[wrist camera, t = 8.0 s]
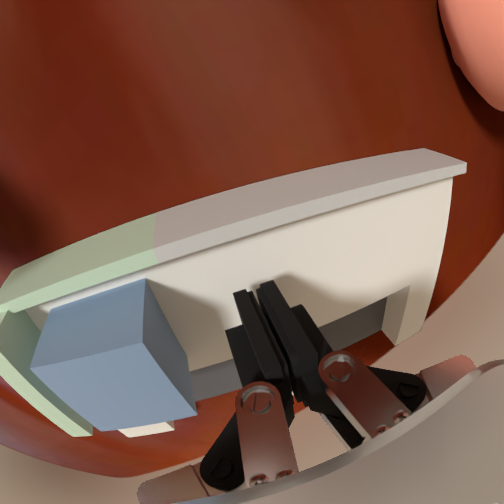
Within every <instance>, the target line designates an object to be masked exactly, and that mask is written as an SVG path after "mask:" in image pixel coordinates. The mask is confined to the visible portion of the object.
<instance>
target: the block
mask: <svg viewBox="0 0 504 504" xmlns="http://www.w3.org/2000/svg"><path fill="white" fill-rule="evenodd" d="M30 370H31V371H32V372H33V373H34V374H35V375H36V376H37V377H38V378H39V379H40V380H41V381H42V382H43V383H44V384H45V385H46V386H47V387H48V388H49V389H50V390H52V391H53V392H54V393H55V394H56V395H57V396H58V397H59V398H60V399H61V400H62V401H64V402H65V403H66V404H67V405H68V406H69V407H71V408H72V409H73V410H74V411H75V412H77V413H78V414H79V415H80V416H82V417H83V418H84V419H85V420H87V421H88V422H89V423H90V424H92V425H93V426H94V427H96V428H97V429H99V430H100V431H110V430H118V429H126V428H133V427H139V426H146V425H151V424H157V423H162V422H167V421H172V420H177V419H181V418H186V417H190V416H194V415H198V414H197V409H196V404H195V399H194V394H193V388H192V383H191V377H190V371H189V365H188V359H187V355H186V353H185V351H184V350H183V348H182V346H181V345H180V343H179V341H178V339H177V338H176V336H175V334H174V332H173V330H172V329H171V327H170V325H169V323H168V321H167V319H166V317H165V316H164V314H163V312H162V310H161V308H160V306H159V304H158V302H157V300H156V298H155V296H154V294H153V292H152V290H151V288H150V286H149V284H148V282H147V280H146V278H143V279H140V280H137V281H134V282H131V283H128V284H125V285H122V286H119V287H116V288H113V289H110V290H106V291H103V292H100V293H97V294H94V295H91V296H88V297H85V298H82V299H79V300H76V301H73V302H70V303H67V304H64V305H61V306H58V307H55V308H52V309H50V312H49V314H48V317H47V319H46V322H45V324H44V327H43V330H42V332H41V335H40V338H39V341H38V344H37V346H36V349H35V352H34V355H33V359H32V362H31V365H30Z"/></svg>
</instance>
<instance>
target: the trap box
mask: <svg viewBox="0 0 504 504" xmlns="http://www.w3.org/2000/svg"><path fill="white" fill-rule="evenodd" d="M466 166H467V163H466V162H464V161H461V160H458V159H455V158H453V157H450V156H447V155H444V154H441V153H438V152H435V151H432V150H428V149H425V148H422V149H415V150H408V151H402V152H396V153H390V154H384V155H378V156H373V157H367V158H362V159H357V160H352V161H347V162H342V163H337V164H332V165H328V166H323V167H318V168H314V169H310V170H305V171H301V172H297V173H292V174H288V175H284V176H280V177H276V178H272V179H268V180H264V181H261V182H257V183H253V184H249V185H246V186H242V187H238V188H235V189H231V190H228V191H224V192H221V193H217V194H214V195H211V196H207V197H204V198H201V199H197V200H194V201H191V202H188V203H184V204H181V205H178V206H175V207H172V208H169V209H166V210H163V211H160V212H157V213H154V214H151V215H148V216H145V217H142V218H139V219H137V220H134V221H131V222H128V223H125V224H123V225H120V226H117V227H114V228H112V229H109V230H106V231H104V232H101V233H99V234H96V235H93V236H91V237H88V238H86V239H83V240H81V241H78V242H76V243H73V244H71V245H68V246H66V247H64V248H61V249H59V250H57V251H54V252H52V253H50V254H47V255H45V256H43V257H40V258H38V259H36V260H34V261H32V262H29V263H27V264H25V265H23V266H21V267H19V268H16V269H14V270H13V271H12V272H11V274H10V275H9V276H8V278H7V279H6V281H5V282H4V284H3V285H2V287H1V288H0V375H1V376H2V377H3V378H4V380H5V381H6V382H7V383H8V384H9V385H11V386H12V387H13V388H14V389H15V390H16V391H17V392H18V393H19V394H20V395H21V396H22V397H23V398H24V399H25V400H27V401H28V402H29V403H30V404H31V405H32V406H33V407H35V408H36V409H37V410H38V411H39V412H41V413H42V414H43V415H44V416H46V417H47V418H48V419H49V420H51V421H52V422H53V423H55V424H56V425H57V426H59V427H60V428H61V429H63V430H64V431H66V432H67V433H68V434H70V435H71V436H73V437H77V436H93V425H92V424H90V423H89V422H88V421H87V420H85V419H84V418H83V417H82V416H80V415H79V414H78V413H77V412H75V411H74V410H73V409H72V408H71V407H69V406H68V405H67V404H66V403H65V402H64V401H62V400H61V399H60V398H59V397H58V396H57V395H56V394H55V393H54V392H53V391H52V390H50V389H49V388H48V387H47V386H46V385H45V384H44V383H43V382H42V381H41V380H40V379H39V378H38V377H37V376H36V375H35V374H34V373H33V372H32V371H31V370H30V365H31V362H32V359H33V355H34V352H35V349H36V346H37V344H38V341H39V338H40V335H41V332H42V330H43V327H44V324H45V322H46V319H47V317H48V314H49V312H50V309H52V308H55V307H58V306H61V305H64V304H67V303H70V302H73V301H76V300H79V299H82V298H85V297H88V296H91V295H94V294H97V293H100V292H103V291H106V290H110V289H113V288H116V287H119V286H122V285H125V284H128V283H131V282H134V281H137V280H140V279H143V278H146V280H147V282H148V284H149V286H150V288H151V290H152V292H153V294H154V296H155V298H156V300H157V302H158V304H159V306H160V308H161V310H162V312H163V314H164V316H165V317H166V319H167V321H168V323H169V325H170V327H171V329H172V330H173V332H174V334H175V336H176V338H177V339H178V341H179V343H180V345H181V346H182V348H183V350H184V351H185V353H186V355H187V359H188V365H189V371H190V377H191V383H192V388H193V394H194V399H195V401H199V400H203V399H207V398H210V397H214V396H218V395H221V394H224V393H228V392H231V391H234V390H238V389H241V388H243V387H242V384H241V381H240V378H239V375H238V372H237V368H236V365H235V362H234V359H233V356H232V352H231V349H230V346H229V343H228V339H227V336H226V333H225V330H227V329H230V328H233V327H236V326H239V325H242V322H241V319H240V316H239V312H238V309H237V306H236V303H235V300H234V296H233V293H234V292H237V291H240V290H243V289H246V290H247V292H249V291H253V294H254V296H255V298H256V300H257V302H258V297H257V293H256V289H258V288H260V284H261V283H264V282H267V281H270V280H274V282H275V283H276V285H277V287H278V288H279V290H280V292H281V293H282V295H283V297H284V298H285V300H286V302H287V303H288V305H289V307H290V308H291V307H294V306H297V305H299V304H302V305H303V306H304V307H305V309H306V310H307V312H308V313H309V315H310V316H311V318H312V319H313V321H314V322H315V324H316V326H317V327H318V329H319V330H320V332H321V333H322V335H323V336H324V338H325V339H326V341H327V342H328V344H329V345H330V347H331V348H332V350H333V351H339V350H341V349H343V348H346V347H348V346H350V345H352V344H354V343H356V342H358V341H360V340H362V339H364V338H366V337H368V336H370V335H372V334H374V333H376V332H378V331H380V330H382V331H383V332H384V334H385V335H386V336H387V337H388V338H389V339H390V341H391V342H392V343H393V344H394V345H395V346H396V345H398V344H400V343H401V342H403V341H404V340H406V339H408V338H409V337H411V336H413V335H414V334H415V333H417V332H419V331H421V329H422V326H423V323H424V320H425V317H426V314H427V311H428V307H429V304H430V301H431V297H432V294H433V290H434V286H435V282H436V278H437V274H438V270H439V266H440V261H441V257H442V252H443V247H444V241H445V236H446V230H447V224H448V217H449V209H450V201H451V192H452V180H453V176H456V175H459V174H463V173H466ZM258 304H259V302H258ZM292 395H294V394H293V392H292ZM118 430H119V431H120V432H122V433H123V434H124V435H126V436H127V437H135V436H142V435H149V434H155V433H161V432H166V431H172V430H174V423H173V420H172V421H167V422H162V423H157V424H151V425H146V426H139V427H133V428H126V429H118Z"/></svg>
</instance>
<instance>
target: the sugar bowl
mask: <svg viewBox="0 0 504 504" xmlns="http://www.w3.org/2000/svg"><path fill="white" fill-rule="evenodd" d="M438 5H439V11H440V16H441V20H442V24H443V27H444V31H445V34H446V37H447V40H448V42H449V45H450V47H451V52H452V57H453V59H454V62H455V63H456V65H457V66H458V67H460V69H461V71H462V72H463V74H464V76H465V77H466V79H467V80H468V81H469V82H470V84H471V85H472V86H473V87H474V88H475V90H476V91H477V92H478V93H479V94H480V95H481V96H482V97H483V98H484V100H485V101H486V102H487V103H488V104H490V105H491V106H492V107H494V108H495V109H497V110H500V111H504V0H438Z"/></svg>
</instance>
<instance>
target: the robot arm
mask: <svg viewBox="0 0 504 504" xmlns="http://www.w3.org/2000/svg"><path fill="white" fill-rule="evenodd" d="M256 293H257V297H258V302H259V304H258V302H257V300H256V298H255V296H254V294H253V291H249V292H247V290H246V289H243V290H240V291H237V292H234V293H233V296H234V300H235V303H236V306H237V309H238V312H239V316H240V319H241V322H242V325H239V326H236V327H233V328H230V329H227V330H225V333H226V336H227V339H228V343H229V346H230V349H231V352H232V356H233V359H234V362H235V365H236V368H237V372H238V375H239V378H240V381H241V384H242V387H243V388H242V389H241V390H240V391H239V392H238V394H237V396H236V401H235V406H236V412H235V413H234V415H233V416H232V418H231V419H230V421H229V422H228V424H227V425H226V427H225V428H224V430H223V431H222V433H221V434H220V436H219V437H218V438H217V440H216V441H215V443H214V444H213V446H212V447H211V448H210V450H209V451H208V453H207V454H206V455H205V457H204V458H203V460H202V462H199V463H197V464H195V465H188V466H185V467H183V468H180V469H178V470H175V471H173V472H170V473H167V474H165V475H162V476H159V477H156V478H153V479H150V480H147V481H145V482H143V483H142V484H141V485H140V486H139V488H138V491H137V496H138V500H139V502H140V504H504V360H495V361H491V362H488V363H486V364H483V365H481V366H479V367H477V368H476V367H475V365H474V363H473V362H472V360H471V359H470V358H468V357H466V356H463V355H459V356H455V357H453V358H451V359H448V360H446V361H444V362H441V363H439V364H436V365H434V366H431V367H429V368H426V369H424V370H421V371H420V373H419V374H416V375H413V374H409V373H403V372H397V371H391V370H385V369H380V368H374V367H369V366H366V365H365V364H364V363H363V362H362V361H361V360H360V359H359V358H358V357H357V356H355V355H354V354H353V353H350V352H348V351H341V350H339V351H333V350H332V348H331V347H330V345H329V344H328V342H327V341H326V339H325V338H324V336H323V335H322V333H321V332H320V330H319V329H318V327H317V326H316V324H315V322H314V321H313V319H312V318H311V316H310V315H309V313H308V312H307V310H306V309H305V307H304V306H303V305H302V304H299V305H297V306H294V307H291V308H290V307H289V305H288V303H287V302H286V300H285V298H284V297H283V295H282V293H281V292H280V290H279V288H278V287H277V285H276V283H275V282H274V280H270V281H267V282H264V283H261V284H260V288H258V289H256ZM292 392H293V394H294V396H295V398H296V400H297V402H301V401H303V403H304V405H305V407H307V406H309V408H310V410H312V411H315V412H318V413H319V414H320V415H321V417H322V418H323V420H324V421H325V422H326V423H327V425H328V426H329V427H330V429H331V430H332V431H333V433H334V434H335V435H336V436H337V438H338V439H339V440H340V441H341V442H342V444H343V445H344V446H345V448H346V449H347V450H348V452H346V453H344V454H341V455H339V456H337V457H335V458H333V459H331V460H328V461H326V462H324V463H321V464H319V465H317V466H314V467H311V468H309V469H306V470H304V471H301V472H299V471H298V466H297V462H296V458H295V454H294V449H293V445H292V441H291V437H290V432H289V427H290V425H291V423H292V421H293V419H294V417H295V416H294V410H293V404H294V401H293V395H292Z"/></svg>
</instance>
